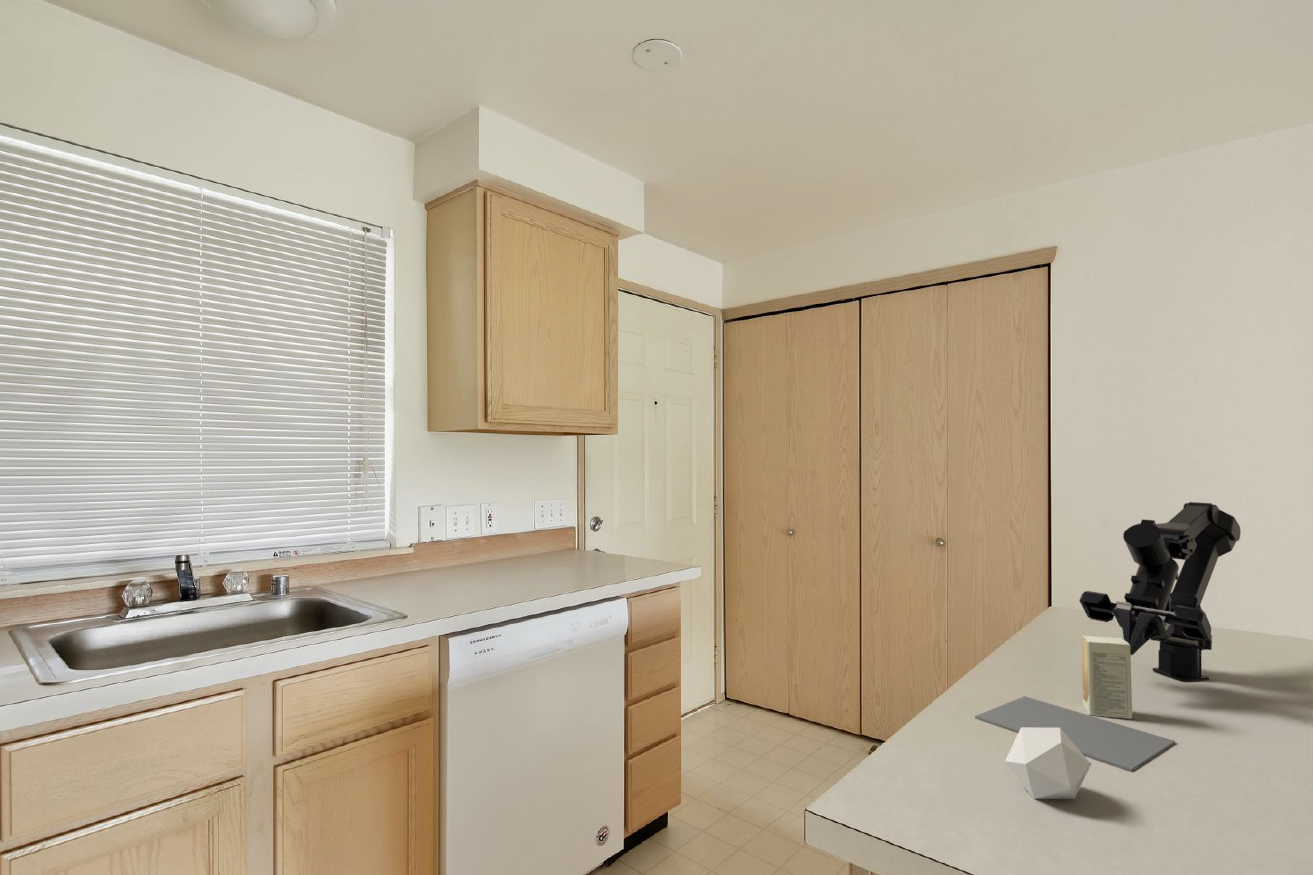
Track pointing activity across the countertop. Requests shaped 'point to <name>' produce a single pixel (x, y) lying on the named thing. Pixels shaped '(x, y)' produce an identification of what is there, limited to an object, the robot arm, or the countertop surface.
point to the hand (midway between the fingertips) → (1128, 653)
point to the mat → (1081, 731)
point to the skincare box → (1106, 676)
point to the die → (1047, 763)
